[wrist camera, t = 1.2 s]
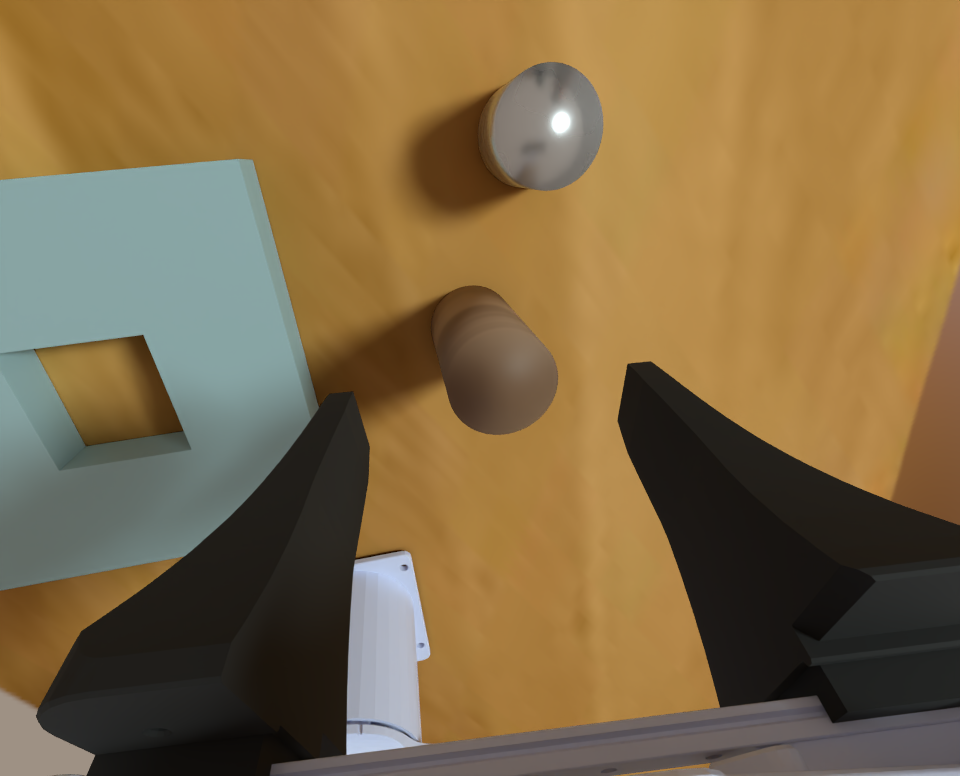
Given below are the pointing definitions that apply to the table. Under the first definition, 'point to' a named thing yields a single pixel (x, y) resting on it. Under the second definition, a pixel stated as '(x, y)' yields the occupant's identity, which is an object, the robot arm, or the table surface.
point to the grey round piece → (541, 128)
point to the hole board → (174, 347)
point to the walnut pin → (491, 362)
